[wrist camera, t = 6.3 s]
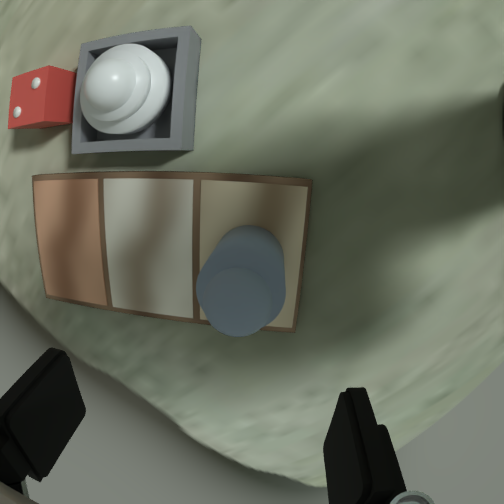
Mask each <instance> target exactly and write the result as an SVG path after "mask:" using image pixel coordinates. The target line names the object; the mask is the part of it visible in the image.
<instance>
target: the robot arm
mask: <svg viewBox="0 0 504 504" xmlns="http://www.w3.org/2000/svg"><path fill="white" fill-rule="evenodd" d="M85 412H86V408H85V405H84V402H83V399H82V396H81V393H80V391H79V388H78V385H77V381H76V378H75V375H74V372H73V368H72V365H71V361H70V358H69V357H68V356H67V354H66V353H65V351H62V350H59V349H55V348H49V349H48V350H47V351H46V352H45V353H44V354H43V355H42V356H41V357H40V358H39V359H38V360H37V361H36V362H35V363H34V364H33V365H32V366H31V367H30V368H29V369H28V370H27V371H26V372H25V373H24V374H23V375H22V376H21V377H20V378H19V379H18V380H17V381H16V383H14V385H13V386H12V387H11V388H10V389H9V390H8V391H7V392H6V393H5V394H4V395H3V396H2V397H1V399H0V504H38V503H36V502H35V501H33V500H31V499H30V498H29V494H28V489H27V485H26V480H25V477H26V476H27V475H29V477H31V478H33V479H35V480H37V481H39V482H41V480H42V478H43V477H46V476H48V474H49V473H50V471H51V469H52V468H53V466H54V464H55V463H56V461H57V459H58V457H59V456H60V454H61V453H62V451H63V450H64V448H65V446H66V445H67V443H68V442H69V440H70V438H71V437H72V435H73V434H74V432H75V430H76V429H77V427H78V426H79V424H80V422H81V421H82V419H83V418H84V416H85ZM323 453H324V462H325V470H326V479H327V489H328V498H329V504H434V501H433V500H432V499H431V498H430V497H429V496H428V495H426V494H424V493H423V492H419V491H407V490H406V487H405V484H404V480H403V477H402V474H401V470H400V467H399V463H398V460H397V457H396V454H395V451H394V448H393V445H392V442H391V439H390V436H389V433H388V430H387V428H386V426H385V425H383V424H381V425H377V422H376V419H375V416H374V412H373V409H372V406H371V403H370V400H369V397H368V394H367V391H366V389H365V388H364V387H362V388H347V389H346V391H345V392H341V393H340V395H339V398H338V402H337V405H336V408H335V411H334V415H333V418H332V421H331V424H330V427H329V430H328V433H327V436H326V438H325V441H324V446H323Z"/></svg>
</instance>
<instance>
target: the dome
mask: <svg viewBox="0 0 504 504" xmlns="http://www.w3.org/2000/svg"><path fill="white" fill-rule="evenodd" d="M171 91H172V77H171V73H170V70H169V68H168V66H167V64H166V63H165V62H164V61H163V59H162V58H160V57H159V56H158V55H156V54H155V53H154V52H152V51H151V50H149V49H148V48H146V47H144V46H142V45H138V44H122V45H118V46H115V47H113V48H111V49H109V50H107V51H106V52H104V53H103V54H101V55H100V56H99V57H98V58H97V59H96V60H95V61H94V62H93V63H92V65H91V66H90V68H89V69H88V71H87V73H86V75H85V77H84V79H83V82H82V86H81V91H80V104H81V109H82V112H83V115H84V117H85V119H86V120H87V121H88V123H89V124H90V125H91V126H92V127H94V128H95V129H97V130H99V131H101V132H104V133H109V134H133V133H137V132H140V131H142V130H144V129H146V128H148V127H149V126H150V125H152V124H153V123H154V122H155V121H156V120H157V119H158V118H159V117H160V116H161V114H162V113H163V112H164V110H165V108H166V106H167V104H168V102H169V99H170V96H171Z"/></svg>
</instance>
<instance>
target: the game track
mask: <svg viewBox="0 0 504 504" xmlns="http://www.w3.org/2000/svg"><path fill="white" fill-rule="evenodd" d="M32 182H33V202H34V216H35V227H36V236H37V244H38V252H39V259H40V266H41V272H42V278H43V283H44V289H45V294H46V298H49V299H54V300H59V301H63V302H68V303H73V304H78V305H83V306H89V307H94V308H99V309H105V310H110V311H116V312H122V313H128V314H134V315H141V316H147V317H154V318H161V319H168V320H175V321H182V322H190V323H198V324H207V325H211V324H210V322H209V321H208V319H207V318H206V316H205V313H204V311H203V310H202V308H201V306H200V304H199V302H198V299H197V294H196V282H197V278H198V275H199V272H200V271H201V269H202V267H203V266H204V264H205V263H206V261H207V260H208V258H209V256H210V255H211V253H212V252H213V250H214V249H215V247H216V246H217V244H218V243H219V241H220V240H221V239H222V237H223V236H224V235H225V234H226V233H227V232H229V231H230V230H232V229H234V228H236V227H239V226H243V225H254V226H259V227H262V228H264V229H266V230H268V231H269V232H271V233H272V234H273V235H274V236H275V237H276V238H277V240H278V241H279V243H280V244H281V247H282V249H283V254H284V268H285V286H286V297H285V302H284V305H283V308H282V310H281V312H280V313H279V314H278V316H277V317H276V318H275V319H274V320H273V321H272V322H271V323H269V324H268V325H266V326H264V327H262V328H261V329H259V330H266V331H279V332H293V333H295V330H296V323H297V315H298V308H299V300H300V293H301V285H302V277H303V268H304V260H305V251H306V242H307V232H308V223H309V213H310V202H311V191H312V179H303V178H292V177H280V176H266V175H251V174H234V173H212V172H178V171H109V172H77V173H57V174H41V175H33V176H32Z"/></svg>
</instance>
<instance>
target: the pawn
mask: <svg viewBox="0 0 504 504" xmlns="http://www.w3.org/2000/svg"><path fill="white" fill-rule="evenodd" d="M196 294H197V299H198V302H199V304H200V306H201V308H202V310H203V311H204V313H205V316H206V318H207V319H208V321H209V322H210V324H211V325H212V326H213V327H214V328H215V329H216V330H218V331H219V332H221V333H223V334H225V335H228V336H233V337H243V336H248V335H250V334H253V333H255V332H256V331H258V330H259V329H261V328H262V327H264V326H266V325H268V324H269V323H271V322H272V321H273V320H274V319H275V318H276V317H277V316H278V314H279V313H280V312H281V310H282V308H283V305H284V302H285V297H286V286H285V268H284V254H283V249H282V247H281V244H280V243H279V241H278V240H277V238H276V237H275V236H274V235H273V234H272V233H271V232H269V231H268V230H266V229H264V228H262V227H259V226H254V225H243V226H239V227H236V228H234V229H232V230H230V231H229V232H227V233H226V234H225V235H224V236H223V237H222V239H221V240H220V241H219V243H218V244H217V246H216V247H215V249H214V250H213V252H212V253H211V255H210V256H209V258H208V260H207V261H206V263H205V264H204V266H203V267H202V269H201V271H200V272H199V275H198V278H197V282H196Z"/></svg>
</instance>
